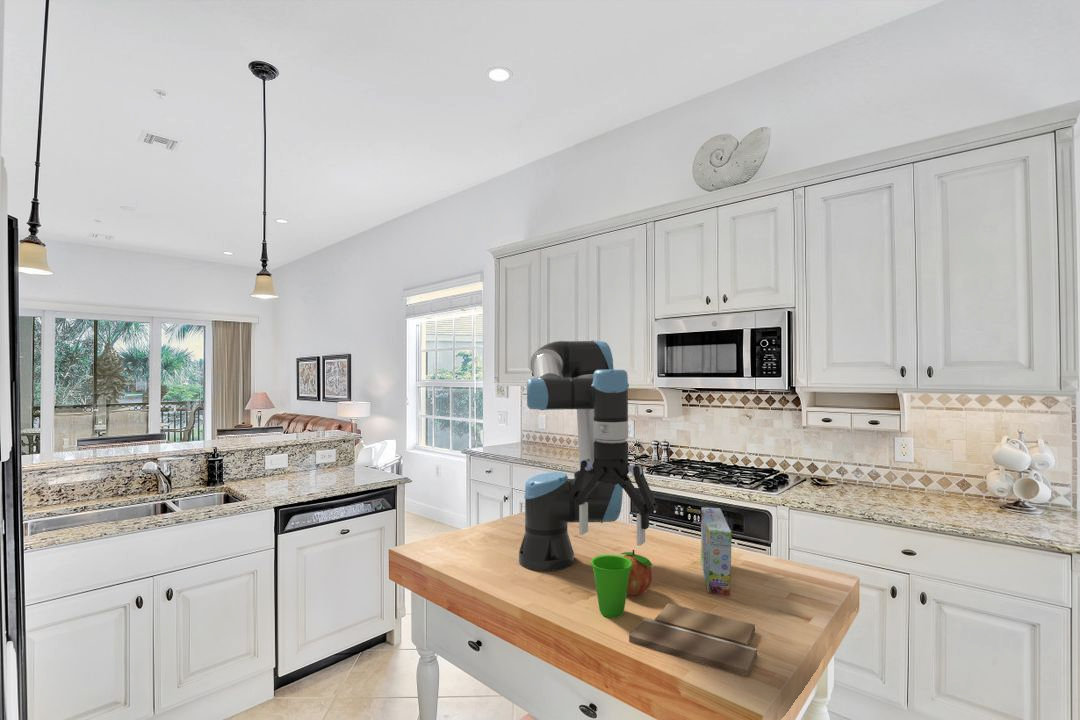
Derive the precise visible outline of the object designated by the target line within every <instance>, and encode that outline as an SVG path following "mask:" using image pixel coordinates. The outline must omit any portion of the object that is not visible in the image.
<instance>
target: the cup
mask: <svg viewBox="0 0 1080 720" xmlns="http://www.w3.org/2000/svg"><path fill="white" fill-rule="evenodd" d="M623 556H624V555H619V554H599V555H597V556H594V557H593V558H592V559H591V560H590V565H591V566H592V570H593V577H594V581H595V582H594V583H595V588H596V595H597V601H598V608H599V612H600V614H601V615H602V616H604V617H605V618H611V619H614V618H619V617H620V618H621V617H622V616H623V614H624V613H625V606H626V600H627V595H628V594H627V588H628V581H629V575H630V568H631V567H632V565H633V564H632V561H631V560H630V559H628V558H626V557H623Z"/></svg>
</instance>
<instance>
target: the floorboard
mask: <svg viewBox="0 0 1080 720" xmlns="http://www.w3.org/2000/svg"><path fill="white" fill-rule="evenodd" d="M628 642H630V643H633V644H635V645H636V644H637V645H639V646H642V647H646V648H648V649H653V650H656V651H659V652H662V653H665V654H666V653H667V654H669V655H673V656H676V657H679V658H682V659H687V660H689V661H692V662H695V663H699V664H702V665H706V666H710V667H712V668H716V669H719V670H722V671H726V672H729V673H733V674H736V675H739V676H743V677H746V678H749V675H750V673H751V670H752V668H753V666H754V663H755V661H756V658H757V656H758V650H757V648H754V647H752V646H749V645H748V646H744V645H740V644H737V643H733V642H729V641H726V640H722V639H718V638H715V637H711V636H707V635H704V634H700V633H696V632H693V631H689V630H685V629H681V628H678V627H674V626H670V625H667V624H663V623H659V622H656V621H655V620H652V619H647V618H643V619H642V621H641V622H640V623H639V624H638V625H637V626H636V627H635V629H633V631H632V632H631V633H629V635H628Z"/></svg>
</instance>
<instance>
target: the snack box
mask: <svg viewBox="0 0 1080 720" xmlns="http://www.w3.org/2000/svg"><path fill="white" fill-rule="evenodd" d="M700 510H701V512H700V516H701V517H700V519H701V520H700V563H701V567H702V571H703V577H704V578H705V580H704V581H705V585H706V589H707V593H708V594H712V595H721V596H731V583H732V582H731V575H732V570H731V569H732V534H733V533H732V530H731V528H730V527H729V524H728V521H727V520H726V517H725V516H724V513H723V511H722V509H721V508H719V507H718V508H717V507H701V509H700Z"/></svg>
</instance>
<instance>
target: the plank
mask: <svg viewBox="0 0 1080 720" xmlns="http://www.w3.org/2000/svg"><path fill="white" fill-rule="evenodd" d="M654 621H656V622H659V623H663V624H667V625H670V626H674V627H678V628H681V629H685V630H689V631H693V632H696V633H700V634H704V635H707V636H711V637H715V638H718V639H722V640H726V641H729V642H733V643H737V644H740V645H744V646H748V647H749V645H750V643H751V641H752V638H753V637H754V634H755V632H756V624H754V623H749V622H745V621H741V620H737V619H734V618H729V617H725V616H722V615H717V614H713V613H710V612H705V611H702V610H698V609H694V608H689V607H686V606H682V605H677V604H673V603H670V602H668V603H667V604H666V605H665V606H664V607H663V609H662V610H661V611H660V612H659V614H657V616H656V617H655V618H654Z"/></svg>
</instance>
